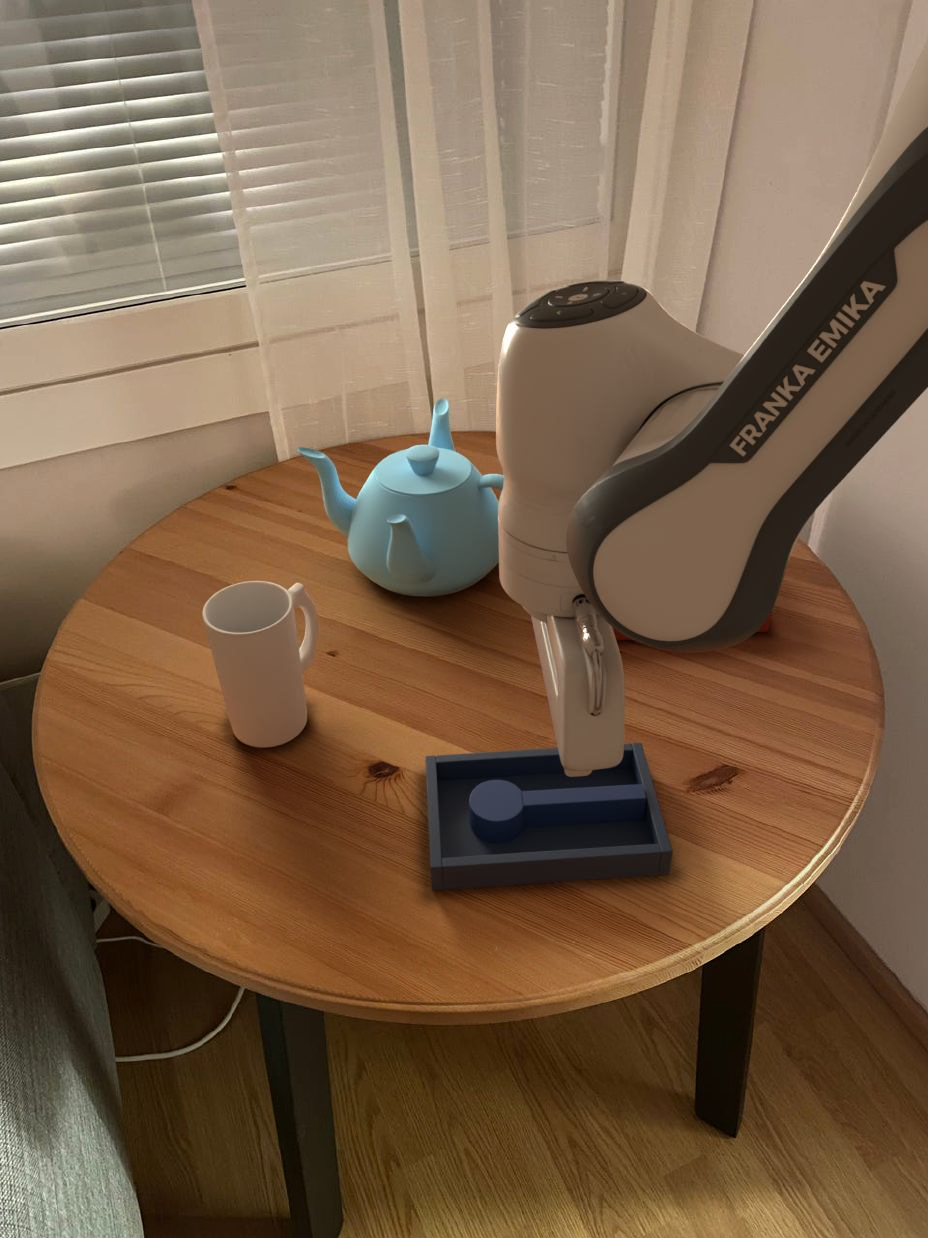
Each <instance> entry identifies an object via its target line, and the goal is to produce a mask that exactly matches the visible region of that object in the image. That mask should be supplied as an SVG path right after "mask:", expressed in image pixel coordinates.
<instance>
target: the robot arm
mask: <svg viewBox="0 0 928 1238" xmlns="http://www.w3.org/2000/svg"><path fill="white" fill-rule="evenodd" d="M927 389H928V38H927V39H926V41H925V43H924V45H923V46H922V49H921V50H920V53H919V54H918V57H917V59H916V60H915V63H914V65H913V67H912V69H911V71H910V73H909V76H908V77H907V80H906V82H905V84H904V86H903V88H902V91H901V92H900V95H899V97H898V99H897V102H896V103H895V106H894V108H893V111H892V112H891V115H890V118H889V119H888V122H887V123H886V127H885V128H884V131H883V134H882V136H881V138H880V140H879V142H878V144H877V147H876V149H875V151H874V153H873V155H872V158H871V160H870V162H869V164H868V166H867V169H866V171H865V172H864V175H863V177H862V179H861V181H860V182H859V184H858V187H857V189H856V190H855V193H854V195H853V197H852V199H851V201H850V203H849V205H848V207H847V208H846V210H845V212H844V214H843V216H842V217H841V219H840V221H839V223H838V225H837V227H836V229H835V230H834V232H833V234H832V235H831V237H830V239H829V240H828V241H827V244H826V245H825V247H824V249H823V250H822V252H820V255H818V258H817V259H816V261H815V262H814V263H813V265H812V267H811V268H810V270H809V271H808V272H807V274H806V275H805V276H804V278H803V279H802V281H801V282H800V283H799V284H798V286H797V287H796V288H795V290H794V291H793V292H792V294H791V295H790V296H789V298H788V299H787V300H786V301H785V303H784V304H783V305H782V307H781V308H780V309H779V311H777V313H776V314H775V316H774V317H773V318H772V319H771V321H770V322H769V323H768V325H767V326H766V327H765V329H764V330H763V331H762V332H761V333H760V335H759V336H758V338H757V339H756V340H755V341H754V342H753V344H752V345H751V347H750V348H749V349H748V350H747V352H746V353H745V354H743V353H740V352H738V351H735V350H732V349H731V348H728V347H726V346H724V345H722V344H719V343H716V342H715V341H713V340H711V339H709V338H707V337H705V336H703V335H701V334H700V333H698V332H697V331H695V330H692V329H691V328H689V327H688V326H686V325H685V324H683V323H682V322H680V321H679V320H677V319H676V318H675V317H674V316H673V315H671V314H670V313H669V312H668V311H667V310H666V309H665V308H664V307H663V306H662V305H661V303H660V302H659V301H658V299H657V298H656V297H655V296H654V294H652V292H650V291H649V290H648V289H646V288H645V287H643V286H641V285H638V284H636V283H632V282H626V281H624V280H617V279H599V280H588V281H582V282H576V283H571V284H567V285H565V286H563V287H560V288H556V289H552V290H549V291H547V292H545V293H543V294H541V295H540V296H538V297H536V298H535V299H534V300H532V301H531V302H530V303H528V304H526V305H525V306H524V307H523V308H522V309H521V310H520V311H518V312H517V313H516V314H515V315H514V317H513V319H511V320H510V321H509V323H508V324H507V326H506V328H505V331H504V335H503V338H502V344H501V349H500V354H499V361H498V372H497V386H496V403H495V404H496V405H495V415H496V417H495V444H496V453H497V458H498V461H499V463H500V466H501V469H502V475H503V476H504V484H503V489H502V490H501V492H500V495H499V500H498V502H499V503H498V539H499V562H498V575H499V583H500V585H501V587H502V589H503V590H504V592H505V593H506V595H508V596H509V598H511V599H512V600H513V602H515V603H517V604H518V605H520V606H522V609H524V611H525V612H526V613H527V614H528V615H530V617H531V622H532V623H531V624H532V628H533V633H534V637H535V642H536V647H537V652H538V657H539V662H540V667H541V672H542V676H543V677H542V678H543V682H544V686H545V692H546V697H547V702H548V707H549V711H550V717H551V721H552V722H551V723H552V725H553V730H554V731H553V732H554V737H555V741H556V746H557V748H558V751H559V756H560V761H561V764H562V766H563V767H564V771H565V774H566V776H569V777H577V776H587V775H589V774H590V773H591V772H592V770H599V769H606V768H611V767H615V766H617V765H618V764H619V763H620V762H621V760H622V758H623V752H624V744H625V726H626V725H625V723H626V722H625V718H626V685H625V683H626V682H625V673H624V671H625V670H624V665H623V658H622V655H621V652H620V651H621V650H620V649H619V645H618V642H617V641H618V640H616V638H615V635H614V631H613V628H614V629H616V630H617V631H619V632H620V633H622V634H623V635H625V636H627V637H629V638H630V639H632V641H635V642H637V643H639V644H642V645H645V646H648V647H650V648H654V649H658V650H663V651H670V652H676V653H677V652H678V653H708V652H716V651H721V650H725V649H729V648H731V647H734V646H736V645H738V644H741V643H743V642H744V641H747V640H748V639H749V638H751V637H752V636H754V635H755V634H756V633H758V632H757V631H758V630H759V629H760V628H761V627H762V625H763V624H764V623H765V621H766V620H767V618H768V617H769V615H770V613H771V611H772V610H774V607H775V604H776V602H777V600H778V597H779V593H780V591H781V588H782V584H783V582H784V579H785V574H786V570H787V567H788V563H789V561H790V558H791V556H792V555H793V552H794V549H795V547H796V545H797V543H798V540H799V537H800V536H801V533H802V531H803V530H804V528H805V527H804V526H805V525H806V524H807V522H808V521H809V520H810V518H811V517H812V515H813V514H814V513H815V512H816V510H817V509H818V508H819V507H820V506H821V505H822V503H823V502H824V501H825V500H826V498H828V496H829V495H831V494H832V492H833V491H834V490H835V489H836V488H837V487H838V486H839V484H841V482H842V481H843V480H844V479H845V478H846V477H847V476H848V475H849V474H850V473H851V472H852V471H853V469H854V468H855V467H856V466H857V465H858V464H859V463H860V462H861V460H863V459H864V457H865V456H866V455H867V454H868V453H869V452H870V451H871V450H872V449H873V448H874V446H875V445H876V444H877V443H879V441H880V440H881V439H882V437H884V436H885V435H886V433H888V431H890V430H891V428H892V427H893V426H894V425H895V424H896V423H897V421H898V420H899V419H901V417H902V416H903V415H904V414H905V413H906V411H908V410H909V408H910V407H911V406H913V404H915V402H916V401H917V400H919V397H920V396H922V394H923V393H924V392H925V391H926V390H927ZM772 612H773V611H772ZM612 627H613V628H612Z"/></svg>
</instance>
